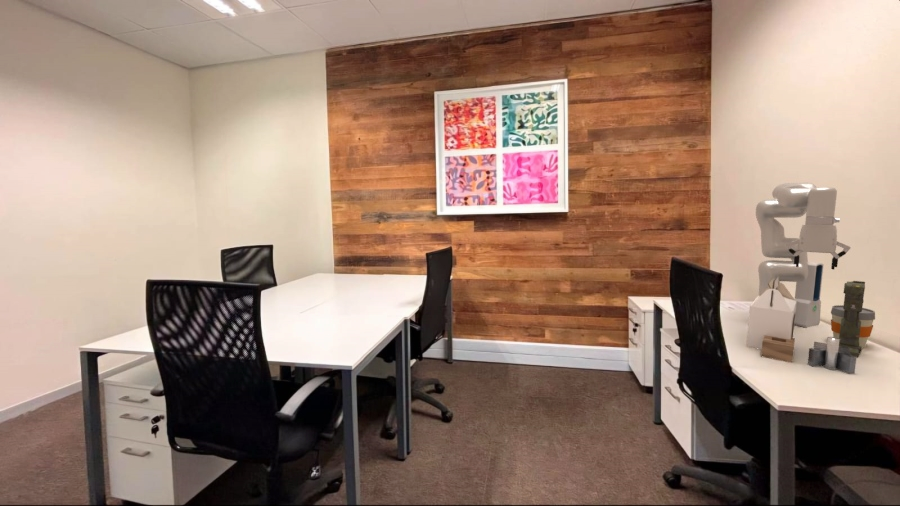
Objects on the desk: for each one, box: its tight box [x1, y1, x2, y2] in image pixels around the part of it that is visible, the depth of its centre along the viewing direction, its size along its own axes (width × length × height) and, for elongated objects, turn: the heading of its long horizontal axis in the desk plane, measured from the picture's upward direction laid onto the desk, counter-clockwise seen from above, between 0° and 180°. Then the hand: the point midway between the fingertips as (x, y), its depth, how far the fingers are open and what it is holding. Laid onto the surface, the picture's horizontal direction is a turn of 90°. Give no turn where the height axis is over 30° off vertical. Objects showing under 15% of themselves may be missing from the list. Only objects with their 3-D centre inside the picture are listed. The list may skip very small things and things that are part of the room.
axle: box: [823, 336, 840, 371], centre depth 136 cm, size 3×3×11 cm
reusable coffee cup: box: [830, 304, 876, 349], centre depth 158 cm, size 12×13×15 cm
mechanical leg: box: [839, 280, 866, 358], centre depth 148 cm, size 14×7×30 cm, turn 134°
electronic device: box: [794, 261, 824, 328], centre depth 183 cm, size 12×8×30 cm, turn 114°
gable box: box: [746, 276, 797, 350], centre depth 160 cm, size 22×13×28 cm, turn 136°
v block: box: [807, 341, 857, 374], centre depth 139 cm, size 12×12×6 cm
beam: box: [760, 335, 796, 363], centre depth 149 cm, size 12×9×6 cm
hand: (814, 267), depth 143 cm, fingers open, 9 cm apart
